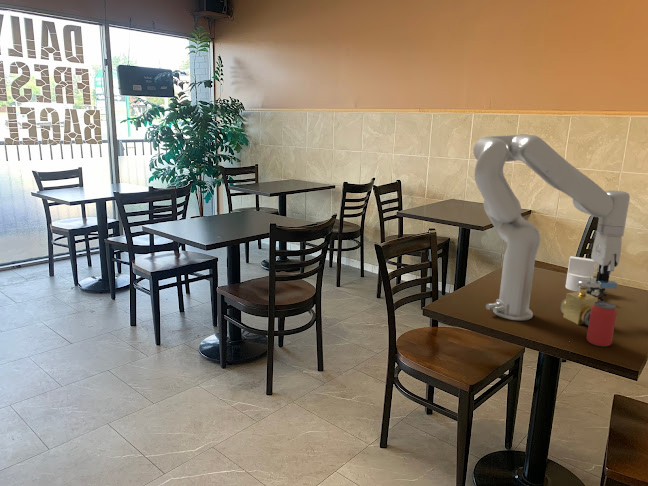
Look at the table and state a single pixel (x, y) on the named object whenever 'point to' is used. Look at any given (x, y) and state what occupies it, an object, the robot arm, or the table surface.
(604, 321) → the beer can
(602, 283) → the lever
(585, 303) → the pipe valve
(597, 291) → the valve
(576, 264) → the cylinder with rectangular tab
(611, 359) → the table surface
